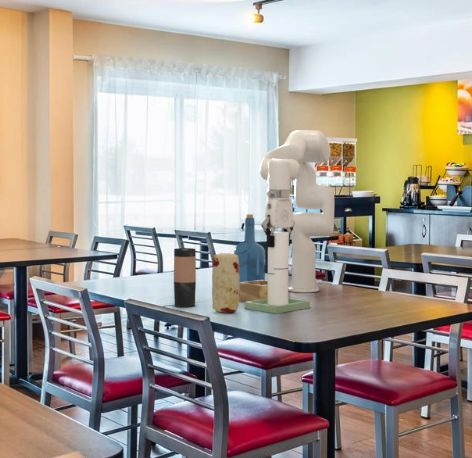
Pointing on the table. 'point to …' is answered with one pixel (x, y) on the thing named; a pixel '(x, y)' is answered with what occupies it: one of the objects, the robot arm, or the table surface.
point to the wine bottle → (250, 254)
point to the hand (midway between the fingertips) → (278, 246)
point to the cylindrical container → (278, 270)
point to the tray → (263, 306)
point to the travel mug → (184, 277)
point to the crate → (253, 290)
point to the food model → (225, 282)
